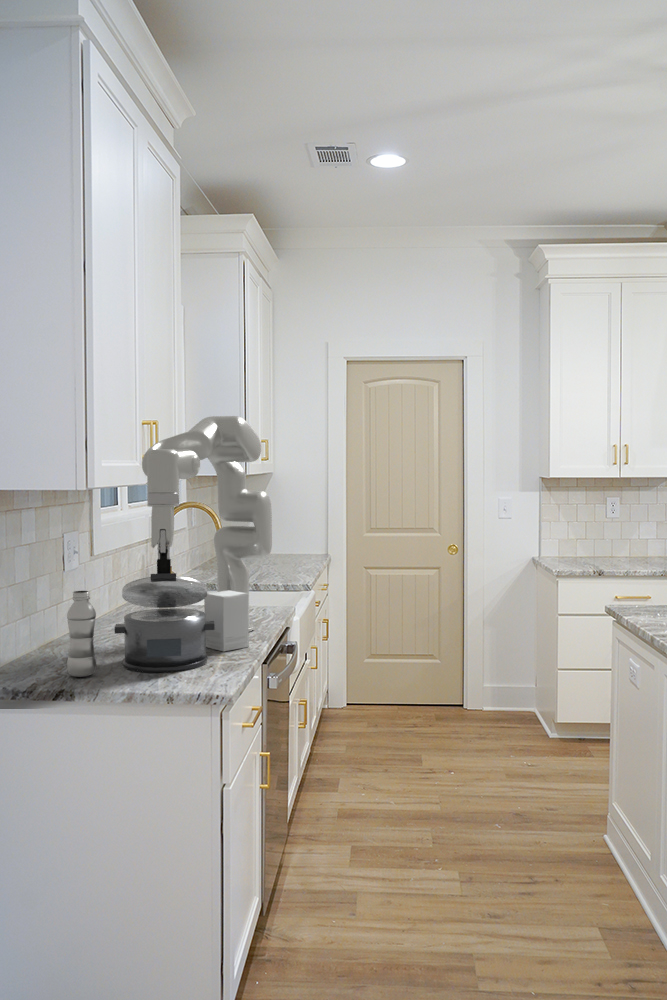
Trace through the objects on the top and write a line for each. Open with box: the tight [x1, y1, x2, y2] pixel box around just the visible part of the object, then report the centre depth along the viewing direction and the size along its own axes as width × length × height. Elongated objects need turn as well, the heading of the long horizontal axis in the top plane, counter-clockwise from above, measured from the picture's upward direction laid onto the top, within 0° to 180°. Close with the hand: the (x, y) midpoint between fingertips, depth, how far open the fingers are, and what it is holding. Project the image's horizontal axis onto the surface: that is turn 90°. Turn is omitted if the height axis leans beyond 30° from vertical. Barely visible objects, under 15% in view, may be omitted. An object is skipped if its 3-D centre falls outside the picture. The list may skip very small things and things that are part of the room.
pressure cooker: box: [114, 607, 215, 674], centre depth 199 cm, size 22×24×12 cm
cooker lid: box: [121, 572, 208, 609], centre depth 199 cm, size 23×21×4 cm
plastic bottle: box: [66, 590, 97, 678], centre depth 186 cm, size 6×7×20 cm
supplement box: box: [203, 590, 250, 652], centre depth 217 cm, size 9×9×15 cm
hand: (163, 575), depth 192 cm, fingers closed
